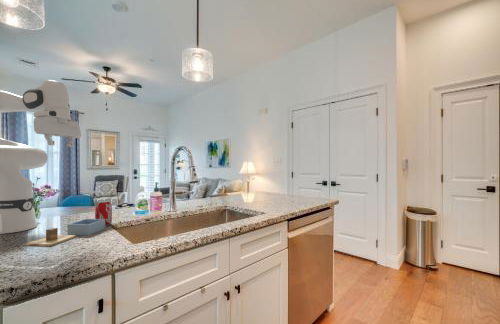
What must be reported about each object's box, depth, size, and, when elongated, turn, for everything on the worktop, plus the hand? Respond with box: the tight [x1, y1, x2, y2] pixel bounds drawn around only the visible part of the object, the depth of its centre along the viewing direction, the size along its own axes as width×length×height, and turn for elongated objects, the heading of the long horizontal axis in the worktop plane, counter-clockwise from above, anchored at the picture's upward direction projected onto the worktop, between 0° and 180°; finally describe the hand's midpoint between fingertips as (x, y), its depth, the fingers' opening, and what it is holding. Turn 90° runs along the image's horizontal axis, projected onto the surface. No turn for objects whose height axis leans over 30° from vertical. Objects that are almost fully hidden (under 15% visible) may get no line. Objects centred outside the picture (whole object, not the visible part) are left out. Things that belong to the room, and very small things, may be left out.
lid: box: [25, 227, 77, 247], centre depth 90 cm, size 10×10×5 cm
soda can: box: [94, 199, 113, 227], centre depth 114 cm, size 7×7×12 cm
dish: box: [67, 218, 106, 236], centre depth 102 cm, size 10×10×5 cm
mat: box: [24, 236, 77, 248], centre depth 90 cm, size 11×11×1 cm
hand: (61, 145), depth 106 cm, fingers open, 8 cm apart
